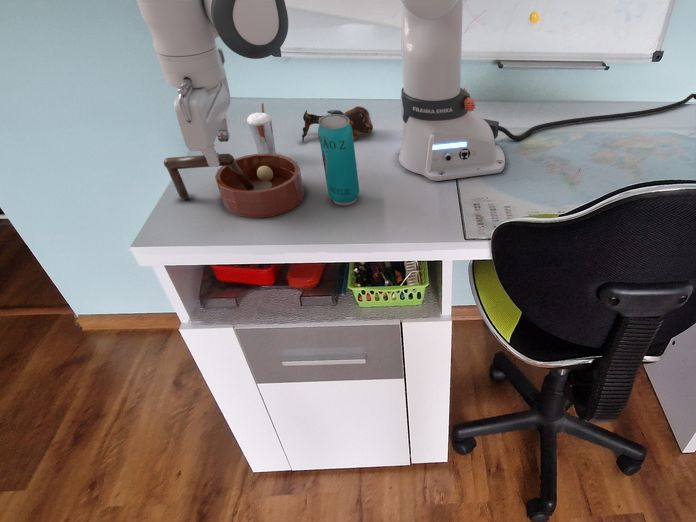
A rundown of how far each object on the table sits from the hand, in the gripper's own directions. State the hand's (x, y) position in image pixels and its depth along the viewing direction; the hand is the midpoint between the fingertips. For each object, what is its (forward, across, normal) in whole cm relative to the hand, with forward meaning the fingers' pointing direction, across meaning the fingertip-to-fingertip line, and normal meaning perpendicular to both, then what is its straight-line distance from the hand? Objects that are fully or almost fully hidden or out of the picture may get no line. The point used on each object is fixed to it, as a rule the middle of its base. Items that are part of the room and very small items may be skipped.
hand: (220, 152), depth 94 cm
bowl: (+9, 0, -5) cm, 11 cm away
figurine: (+10, +26, -18) cm, 33 cm away
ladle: (+9, 0, +1) cm, 9 cm away
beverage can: (+10, -2, -20) cm, 23 cm away
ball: (+7, +5, -5) cm, 10 cm away
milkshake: (+9, +16, -4) cm, 19 cm away
